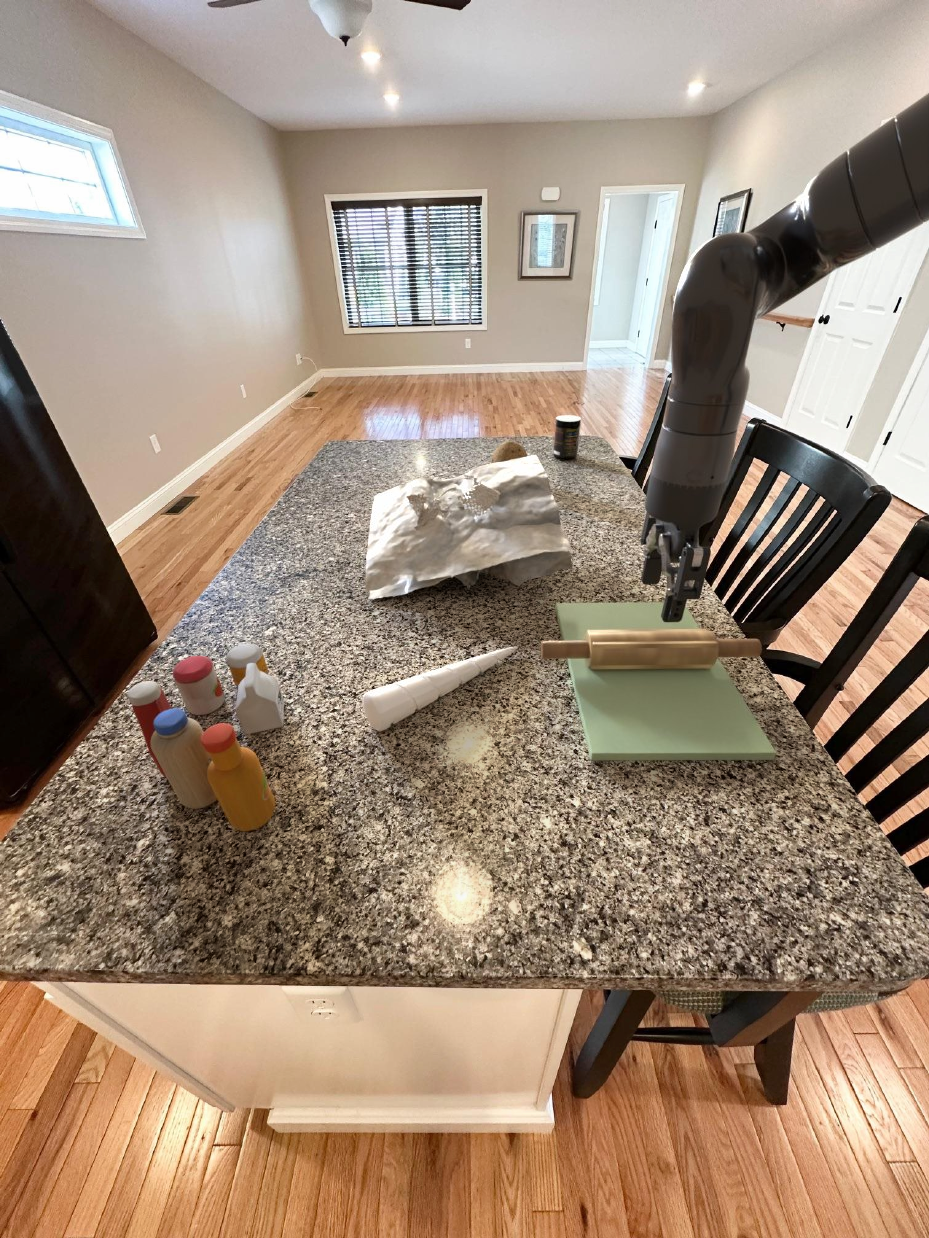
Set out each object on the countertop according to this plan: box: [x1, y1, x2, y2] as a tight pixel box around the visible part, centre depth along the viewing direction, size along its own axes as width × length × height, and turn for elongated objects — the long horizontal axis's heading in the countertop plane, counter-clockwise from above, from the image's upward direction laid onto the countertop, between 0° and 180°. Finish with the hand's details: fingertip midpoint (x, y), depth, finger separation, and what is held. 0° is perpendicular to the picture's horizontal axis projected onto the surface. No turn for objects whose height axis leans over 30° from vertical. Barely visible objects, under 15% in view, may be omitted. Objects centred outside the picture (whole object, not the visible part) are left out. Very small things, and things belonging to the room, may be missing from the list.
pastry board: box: [554, 601, 777, 761], centre depth 69 cm, size 30×20×1 cm, turn 179°
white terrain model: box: [365, 454, 573, 600], centre depth 95 cm, size 35×16×32 cm
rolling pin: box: [540, 628, 763, 669], centre depth 67 cm, size 28×5×5 cm, turn 89°
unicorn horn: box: [361, 645, 519, 732], centre depth 65 cm, size 5×24×5 cm, turn 124°
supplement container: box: [552, 414, 582, 462], centre depth 140 cm, size 7×7×10 cm
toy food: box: [127, 643, 285, 832], centre depth 57 cm, size 27×13×12 cm, turn 15°
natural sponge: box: [490, 440, 528, 464], centre depth 125 cm, size 9×9×10 cm
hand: (659, 600), depth 63 cm, fingers open, 8 cm apart
